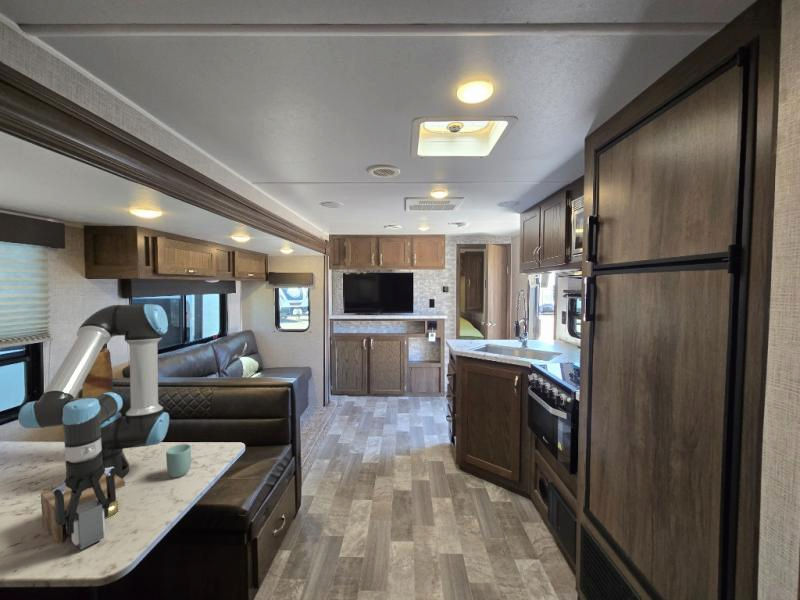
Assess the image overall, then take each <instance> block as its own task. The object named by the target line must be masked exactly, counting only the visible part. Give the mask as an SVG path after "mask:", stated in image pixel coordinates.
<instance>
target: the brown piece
mask: <svg viewBox="0 0 800 600" xmlns="http://www.w3.org/2000/svg"><path fill="white" fill-rule="evenodd" d="M114 479H115V491H116V490H117V489H120V488H123V487H125V486H126V481H125V480H124V479H123V478H120V477H118V476H117V475H115V476H114ZM99 483H100V486H101V489H102V491H103V493H104V495H105V497H106V499H107V485H106V475H105V473H104V474H103V475H102V477H101V478H100V480H99ZM52 489H53V488H51V489H48V490H45V491H43V492H40V501H41V503H40V504H41V520H42V526H43V528H45V530H46V531H47V532H48V533H49V534H50V535H51V537H52V538H53V540H55V542H56V543H57V544H60V543H62V542H64V537H63V536H64V535H63V525H59V524H58V523H57V522H56V514H55V496H54V494H53V493H52V492H51V490H52ZM71 491H72V489H70V488H68V487H66V489H65V493H64V494H63V496H64V510H65V517H66V513H67V509H68V505H69V501H70V498H71ZM92 499H96V500H97V501H98V499H97V497H96V494H95V492H94V490H93V488H88V489H86V490H84V491H82V494H81V496H80V499H79V503H78V505H81V504H83V503H85V502H88V501H90V500H92Z"/></svg>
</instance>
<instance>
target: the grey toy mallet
mask: <svg viewBox="0 0 800 600" xmlns="http://www.w3.org/2000/svg"><path fill="white" fill-rule="evenodd" d="M75 519H76V520H77V521H78V534H79V544H77V545H76V546H77V547H78V548H79V550H83V549H85V548H87V547H89V546H91V545H93V544H96V543H97V542H98V541H100V540H103V539H104V538H105V536H104V535H105V534H104V533H105V531H103V514H102V504H101V503H100V502H99V501H97V500H96V499H92V500H90V501H88V502H85V503H83V504H81V505H78V507H77V511H76V514H75Z"/></svg>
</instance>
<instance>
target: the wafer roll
mask: <svg viewBox="0 0 800 600" xmlns="http://www.w3.org/2000/svg"><path fill="white" fill-rule="evenodd" d="M113 378H114V377H113V368H112V359H111V351H110V349H109V348H107V347H105V348H102V349H101V351H100V353H99V354H98V356H97V358H96V360H95V362H94V364H93V366H92V368H91V369H90V371H89V373H88V375H87V377H86V379H85V381H84V383H83V384H82V386H81V389H82V393H81V395H82V397H81V398H86V397H97V396H99V395H101V394H104V393H107V392H113V393H114V381H113V380H114V379H113Z"/></svg>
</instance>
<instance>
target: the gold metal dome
mask: <svg viewBox="0 0 800 600" xmlns="http://www.w3.org/2000/svg"><path fill="white" fill-rule="evenodd" d="M109 505H110V506H109V507H108V517H106V518H104V519H107V518H109V517H111V516H113V515H115V514H116V513H117V512H118V513H119V501H118V500H117V499H116V500H115V501H114V502H111V503H110V504H109ZM118 513H117V514H118ZM117 514H116V515H117ZM116 515H115V516H116ZM113 517H114V516H113ZM111 518H112V517H111ZM109 519H110V518H109ZM107 520H108V519H107Z"/></svg>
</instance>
